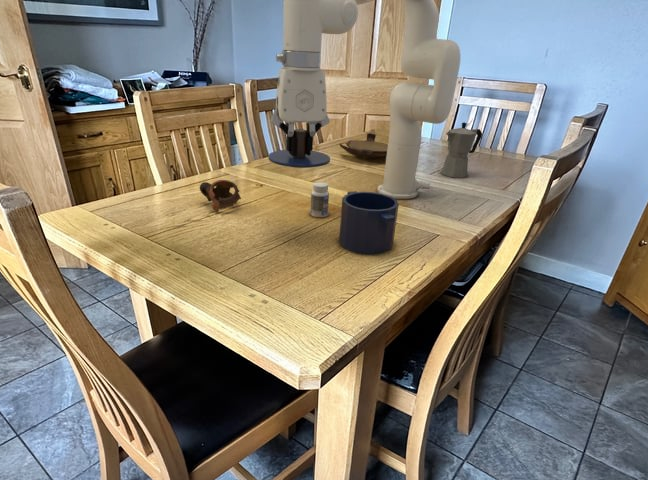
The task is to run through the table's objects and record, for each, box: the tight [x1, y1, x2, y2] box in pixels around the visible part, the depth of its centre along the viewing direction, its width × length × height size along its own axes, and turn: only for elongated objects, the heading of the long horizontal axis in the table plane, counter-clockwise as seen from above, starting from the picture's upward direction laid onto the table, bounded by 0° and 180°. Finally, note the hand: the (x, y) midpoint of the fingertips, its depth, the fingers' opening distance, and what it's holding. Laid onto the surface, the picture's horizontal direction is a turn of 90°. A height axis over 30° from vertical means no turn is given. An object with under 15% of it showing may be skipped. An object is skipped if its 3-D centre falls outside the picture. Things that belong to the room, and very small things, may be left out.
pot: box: [338, 190, 400, 256], centre depth 102 cm, size 13×18×10 cm
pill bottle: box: [310, 181, 330, 218], centre depth 117 cm, size 5×5×8 cm
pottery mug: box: [199, 179, 242, 213], centre depth 119 cm, size 12×10×8 cm
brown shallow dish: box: [339, 128, 388, 159], centre depth 175 cm, size 22×30×8 cm
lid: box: [267, 128, 331, 169], centre depth 96 cm, size 14×14×7 cm
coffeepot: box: [440, 122, 483, 179], centre depth 155 cm, size 15×9×18 cm, turn 113°
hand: (299, 153), depth 97 cm, fingers closed on lid, 2 cm apart
